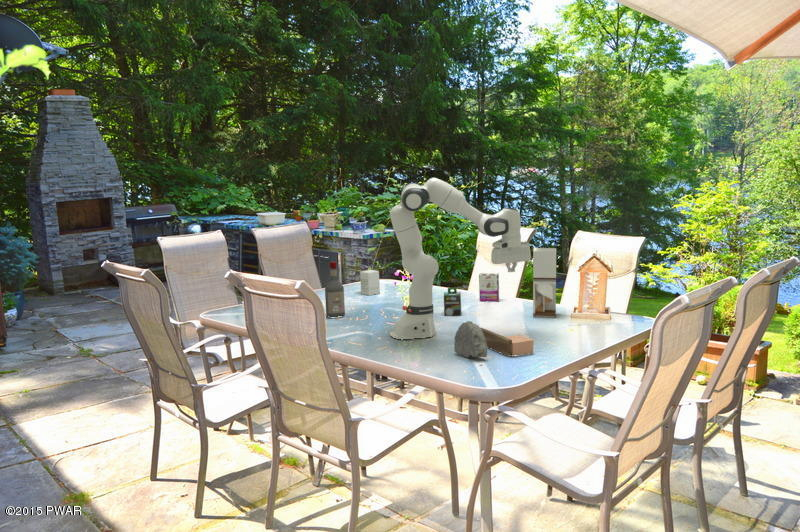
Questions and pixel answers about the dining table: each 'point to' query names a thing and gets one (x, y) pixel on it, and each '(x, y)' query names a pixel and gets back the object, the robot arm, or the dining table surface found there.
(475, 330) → the decorative rock
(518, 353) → the block
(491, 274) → the candy bar box
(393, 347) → the dining table surface
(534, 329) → the dining table surface
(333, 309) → the liquor
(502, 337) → the board
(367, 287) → the supplement box
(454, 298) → the chalk box
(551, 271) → the display case
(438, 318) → the dining table surface
